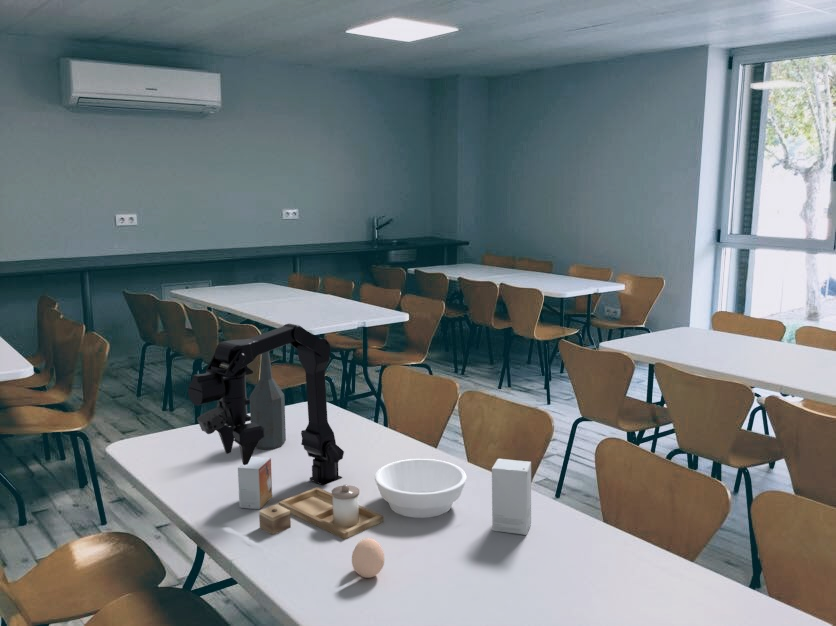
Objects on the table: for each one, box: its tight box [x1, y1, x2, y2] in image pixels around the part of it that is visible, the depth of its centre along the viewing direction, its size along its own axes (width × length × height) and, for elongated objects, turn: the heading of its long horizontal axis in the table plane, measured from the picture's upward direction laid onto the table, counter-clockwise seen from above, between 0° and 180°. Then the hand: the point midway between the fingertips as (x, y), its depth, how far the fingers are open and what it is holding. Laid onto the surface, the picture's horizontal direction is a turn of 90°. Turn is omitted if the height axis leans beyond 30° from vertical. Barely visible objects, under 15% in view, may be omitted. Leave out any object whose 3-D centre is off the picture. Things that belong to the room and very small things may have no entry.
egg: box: [351, 537, 386, 579], centre depth 149 cm, size 7×7×8 cm
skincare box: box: [491, 458, 532, 536], centre depth 169 cm, size 8×7×16 cm
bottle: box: [249, 351, 287, 450], centre depth 223 cm, size 10×10×30 cm
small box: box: [237, 456, 273, 510], centre depth 183 cm, size 8×6×10 cm
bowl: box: [374, 458, 467, 519], centre depth 181 cm, size 22×22×8 cm
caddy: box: [278, 486, 384, 540], centre depth 176 cm, size 12×24×2 cm, turn 47°
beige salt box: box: [258, 503, 292, 536], centre depth 169 cm, size 5×5×5 cm
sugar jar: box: [331, 484, 360, 527], centre depth 171 cm, size 6×6×9 cm
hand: (236, 458), depth 174 cm, fingers open, 9 cm apart
